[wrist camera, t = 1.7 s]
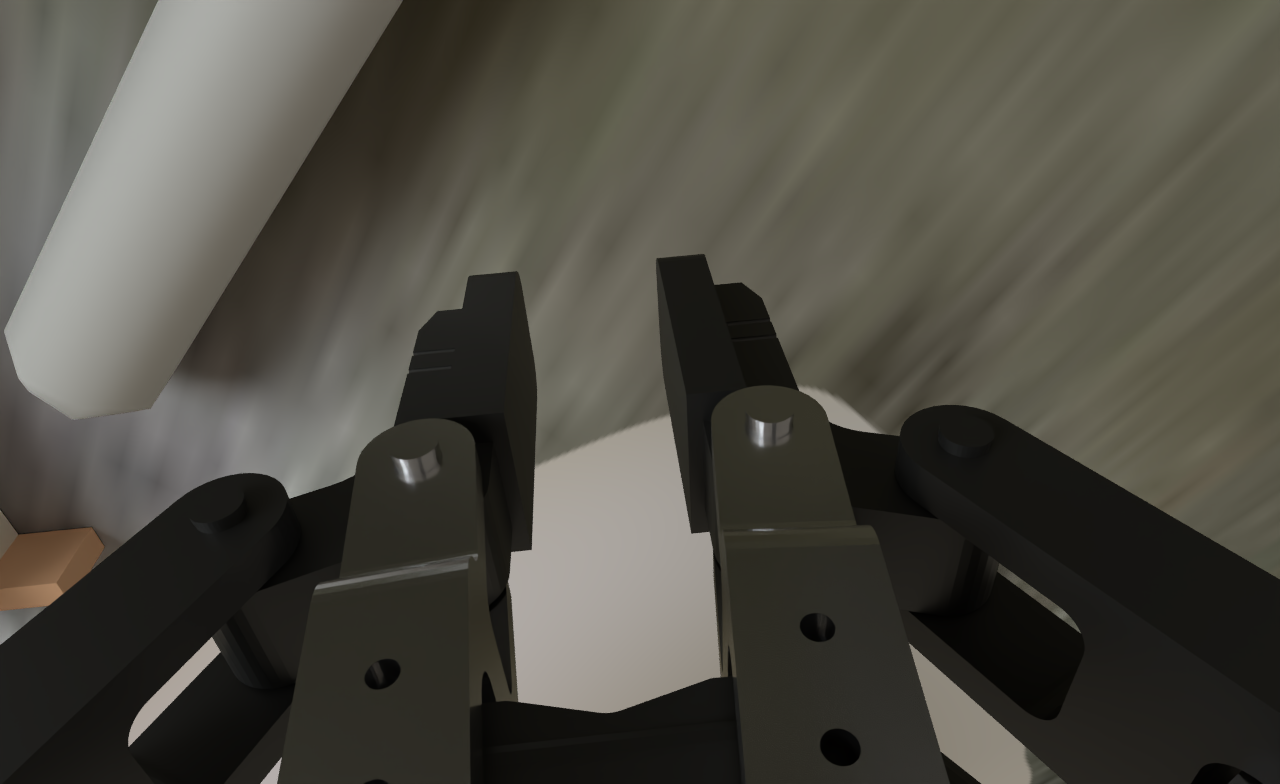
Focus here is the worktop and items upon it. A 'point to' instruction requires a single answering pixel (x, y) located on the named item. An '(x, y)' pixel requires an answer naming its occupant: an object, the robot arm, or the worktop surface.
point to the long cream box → (43, 564)
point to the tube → (180, 190)
